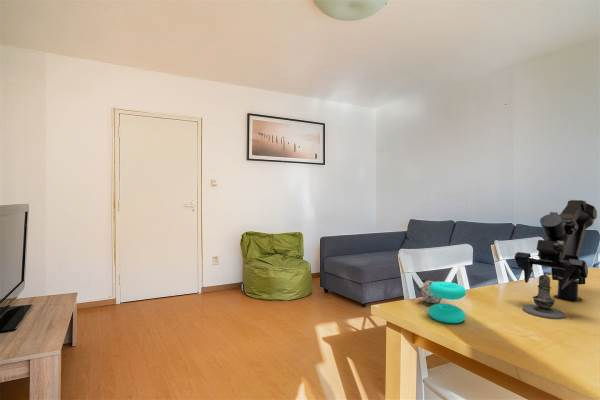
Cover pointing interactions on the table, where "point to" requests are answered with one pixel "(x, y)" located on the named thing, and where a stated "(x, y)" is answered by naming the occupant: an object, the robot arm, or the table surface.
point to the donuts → (447, 311)
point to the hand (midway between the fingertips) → (542, 285)
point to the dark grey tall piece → (544, 295)
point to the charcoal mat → (555, 315)
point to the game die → (428, 293)
